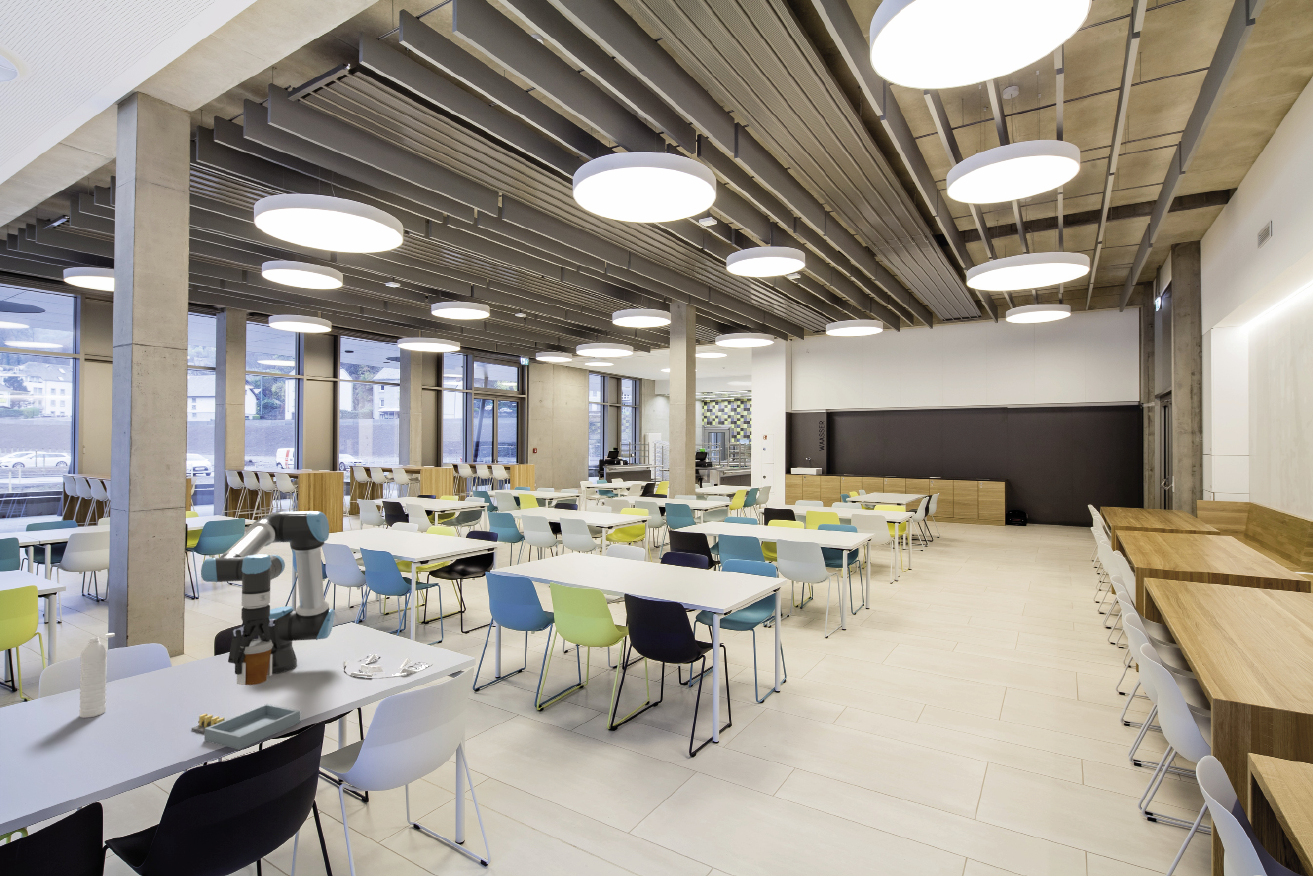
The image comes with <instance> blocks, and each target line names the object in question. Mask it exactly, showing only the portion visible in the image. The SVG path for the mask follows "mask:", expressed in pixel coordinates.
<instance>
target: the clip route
mask: <svg viewBox="0 0 1313 876" xmlns="http://www.w3.org/2000/svg"><path fill="white" fill-rule="evenodd" d="M213 716H214V715H213V714H208V713H204V714H203V713H202V714H200V715H199V716H198V717H199V718H198V723H197V724H198V725H196V726H193V727H191V731H192V732H196V733H198V734H199V733H200V734H204V735H205V728H207V727H210V726H212V725H215V724H217V723H220V722H222V721H225V720H226V719H225V717H220V716H218V715H216V716H215V717H213Z"/></svg>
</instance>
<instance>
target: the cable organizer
mask: <svg viewBox="0 0 1313 876" xmlns="http://www.w3.org/2000/svg"><path fill="white" fill-rule="evenodd" d="M376 655H377V654H373V655H372V656H369V657H370V658H369V659H367V660H368V661H365V662H366V663H368V662H371V661H372V660H374V659H376V658H378V657H377V656H376ZM374 661H375V660H374ZM348 662H349V661H346V660H343V663H342V665H343V666H342V668H345V665H346V664H347V663H348ZM410 663H412V660H410V658H406V659H405V660H404V661H403V663H402V664H401V665H400V667H399V668H402V667H404V666H406V665H409V664H410ZM425 666H426V667H428V665H425ZM425 666H424V665H422V668H421V667H419V668H420V669H419V670H411V669H407V668H402V670H401V671H400V673H396V674H395V675H393V674H392V676H398V677H400V676H404V674H405V675H407V674H408V675H411V674H410V673H412V674H415V673H419V672H421V671H424V670H425ZM428 668H429V667H428ZM417 669H418V668H417ZM423 669H424V670H423ZM360 670H361V671H360V672H361V673H357V672H351V674H350V675H354V676H367V677H372V676H373V674H374V673H384V670H383V667H382V665H370V666H369V664H367V665H365V664H361V667H360ZM418 671H419V672H418ZM363 672H365V673H367V672H368V673H367V674H364V673H363ZM414 672H415V673H414ZM369 673H371V674H369ZM372 673H373V674H372ZM350 675H349V676H350Z"/></svg>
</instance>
